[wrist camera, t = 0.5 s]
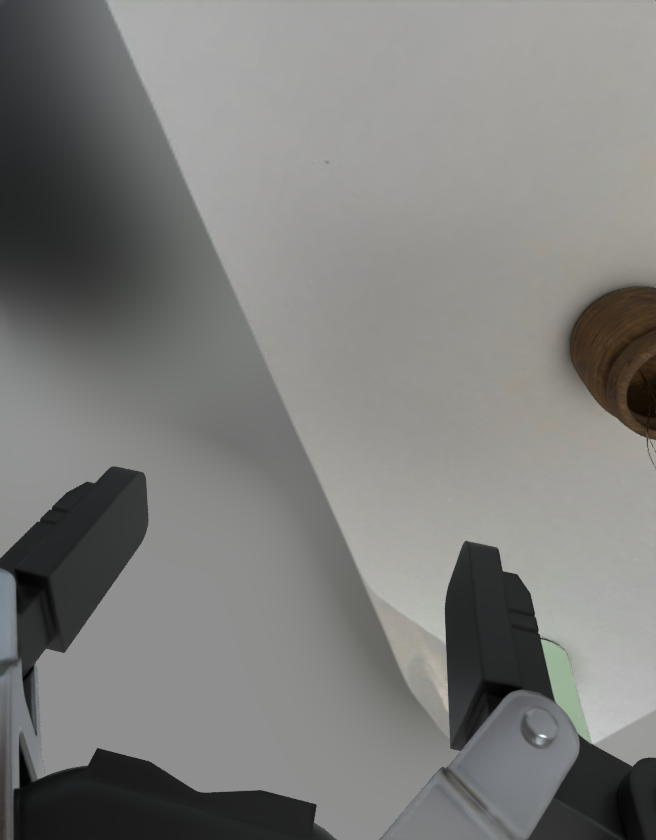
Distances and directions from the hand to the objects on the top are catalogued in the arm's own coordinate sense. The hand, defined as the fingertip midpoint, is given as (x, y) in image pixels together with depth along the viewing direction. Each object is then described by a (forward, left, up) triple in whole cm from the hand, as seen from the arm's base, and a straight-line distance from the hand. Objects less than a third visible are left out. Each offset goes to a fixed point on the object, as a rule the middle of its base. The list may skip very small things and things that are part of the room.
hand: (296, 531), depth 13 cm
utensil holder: (-2, +14, -20) cm, 24 cm away
